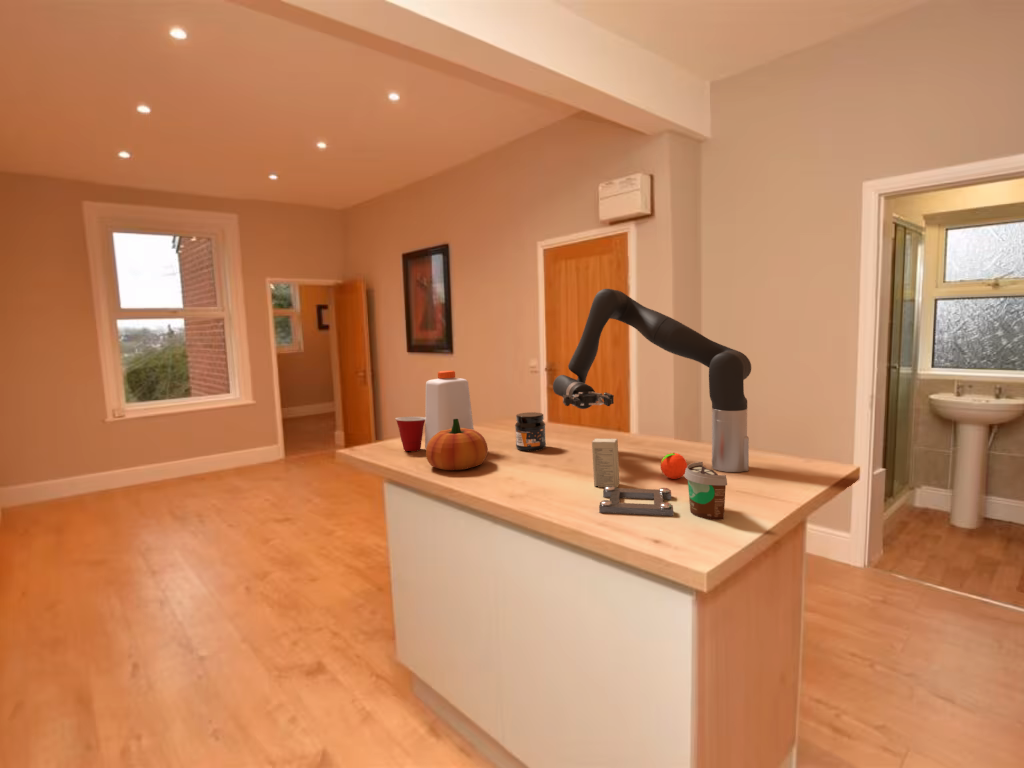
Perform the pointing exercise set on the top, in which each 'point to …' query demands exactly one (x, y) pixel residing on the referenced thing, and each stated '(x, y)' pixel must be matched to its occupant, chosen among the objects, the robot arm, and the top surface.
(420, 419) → the plastic cup
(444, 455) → the pumpkin
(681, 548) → the top surface
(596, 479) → the skincare box
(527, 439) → the supplement container
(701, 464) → the food container
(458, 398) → the plastic bottle
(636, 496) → the grey rectangular frame
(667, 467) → the clementine
